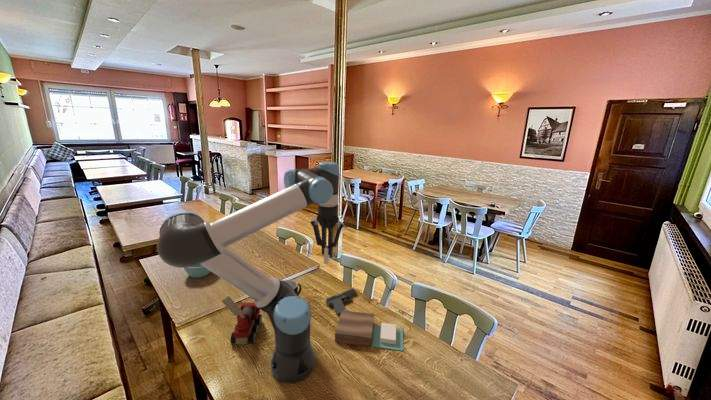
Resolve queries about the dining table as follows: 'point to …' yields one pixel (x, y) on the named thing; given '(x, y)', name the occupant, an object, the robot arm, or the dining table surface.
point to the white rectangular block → (388, 333)
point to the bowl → (197, 271)
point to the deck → (355, 328)
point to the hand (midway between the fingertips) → (326, 261)
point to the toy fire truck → (244, 321)
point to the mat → (385, 345)
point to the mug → (294, 286)
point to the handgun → (340, 300)
